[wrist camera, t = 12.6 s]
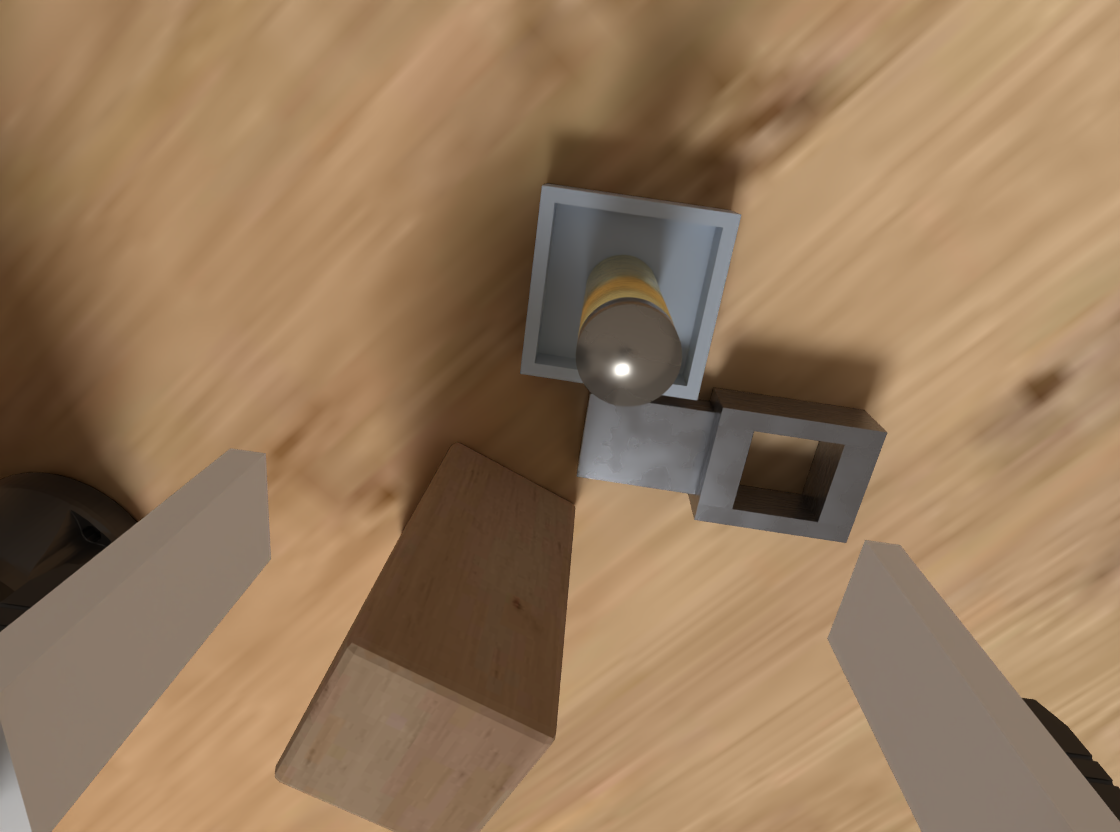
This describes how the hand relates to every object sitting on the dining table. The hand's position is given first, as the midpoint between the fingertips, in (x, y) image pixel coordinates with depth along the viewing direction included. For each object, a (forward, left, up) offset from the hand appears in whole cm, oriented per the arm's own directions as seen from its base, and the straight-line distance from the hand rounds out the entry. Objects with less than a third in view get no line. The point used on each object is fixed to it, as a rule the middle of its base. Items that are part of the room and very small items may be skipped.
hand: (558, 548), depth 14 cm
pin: (+2, +1, -27) cm, 27 cm away
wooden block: (-5, -18, -28) cm, 34 cm away
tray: (+2, +1, -28) cm, 28 cm away
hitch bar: (+10, -9, -28) cm, 31 cm away
